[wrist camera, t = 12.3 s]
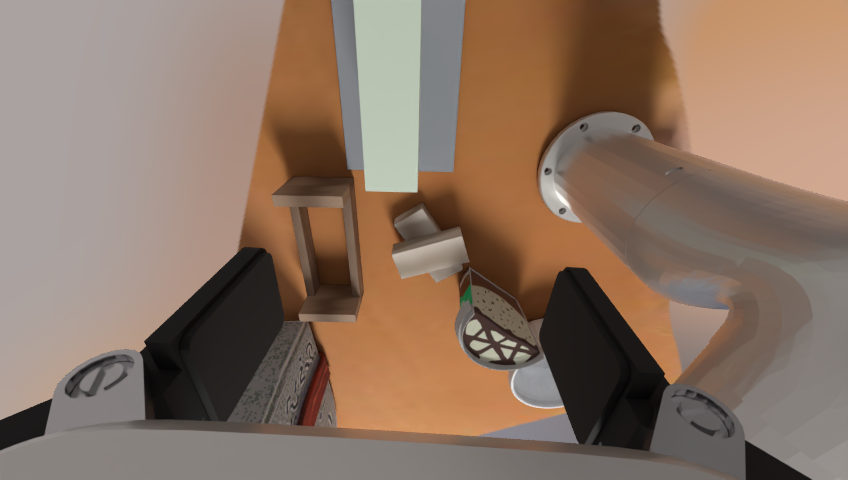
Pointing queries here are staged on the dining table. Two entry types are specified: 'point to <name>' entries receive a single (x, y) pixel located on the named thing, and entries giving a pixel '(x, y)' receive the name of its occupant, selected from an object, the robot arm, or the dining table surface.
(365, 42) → the sheet
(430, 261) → the upper offcut
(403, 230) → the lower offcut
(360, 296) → the rack
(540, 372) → the ramekin
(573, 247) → the dining table surface
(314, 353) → the decorative stone tablet
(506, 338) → the food container
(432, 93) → the mat
